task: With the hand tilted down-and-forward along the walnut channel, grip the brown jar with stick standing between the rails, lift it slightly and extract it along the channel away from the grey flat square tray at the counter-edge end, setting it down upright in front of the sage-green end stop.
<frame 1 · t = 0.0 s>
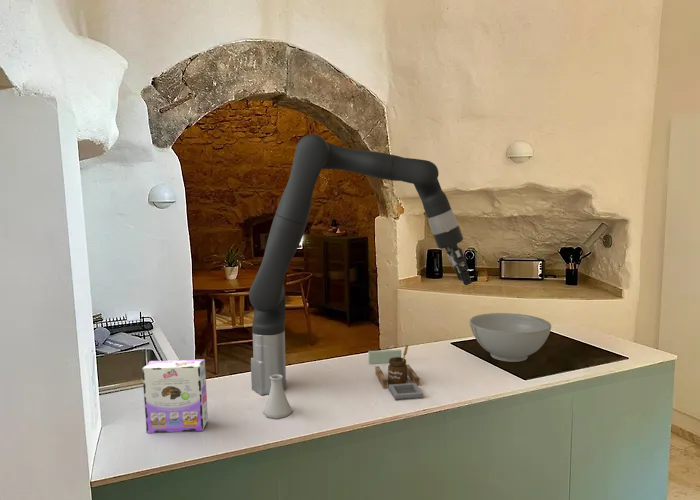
hand: (465, 281, 144), 31 cm above the worktop, tool tilted 20°, fingers open, 8 cm apart
channel: (396, 379, 155), on the worktop
brown jar with stick: (398, 382, 153), on the worktop
decorative bowl: (508, 356, 176), on the worktop
flask: (277, 414, 132), on the worktop
grey flat square tray: (405, 393, 144), on the worktop
end stop: (384, 362, 171), on the worktop
candy box: (178, 428, 125), on the worktop
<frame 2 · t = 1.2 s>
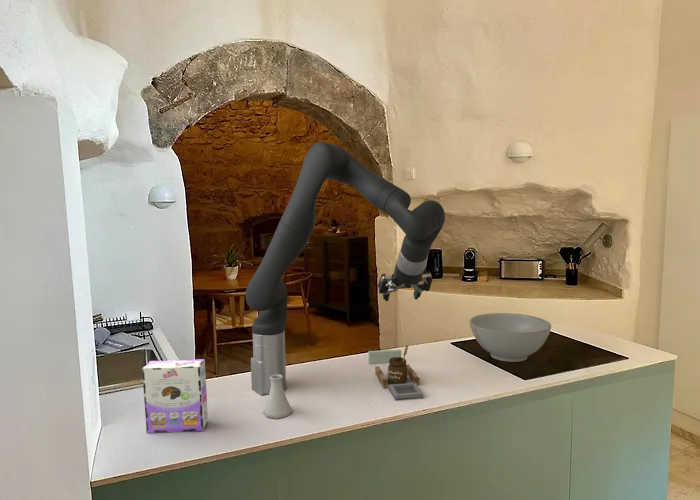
hand: (400, 297, 144), 27 cm above the worktop, tool tilted 45°, fingers open, 8 cm apart
nothing on the worktop moved.
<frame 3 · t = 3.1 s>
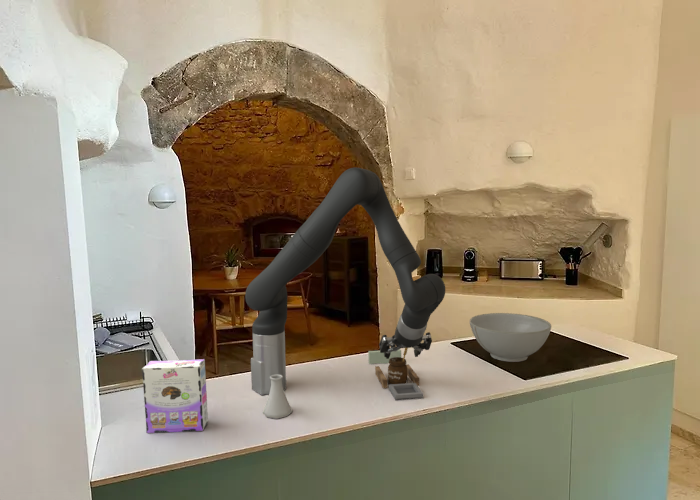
hand: (401, 354, 148), 10 cm above the worktop, tool tilted 45°, fingers open, 8 cm apart
nothing on the worktop moved.
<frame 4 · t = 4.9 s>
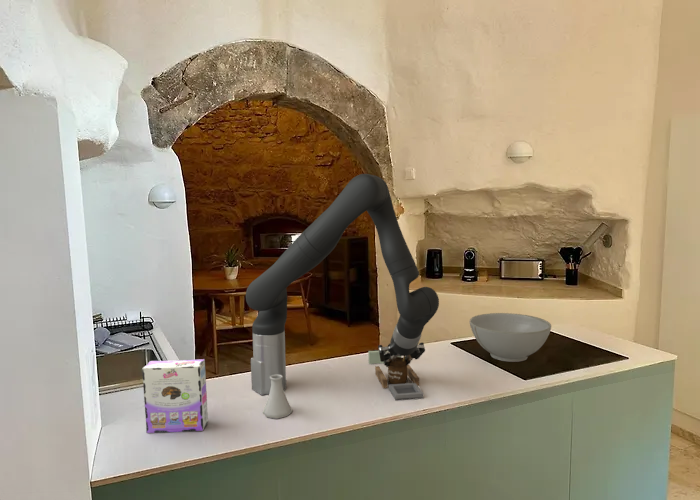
hand: (396, 363, 154), 5 cm above the worktop, tool tilted 45°, fingers closed on brown jar with stick, 5 cm apart
brown jar with stick: (398, 382, 153), on the worktop, touching gripper
everything else where it was.
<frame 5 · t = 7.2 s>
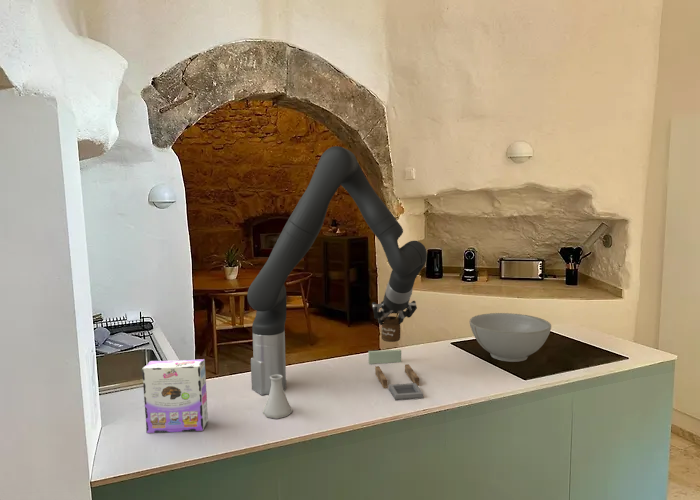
hand: (389, 322, 162), 16 cm above the worktop, tool tilted 45°, fingers closed on brown jar with stick, 5 cm apart
brown jar with stick: (391, 340, 160), point 10 cm above the worktop, touching gripper
everything else where it was.
when the fingers open (6 cm above the worktop, at t = 9.8 s): brown jar with stick drops 1 cm, on the worktop.
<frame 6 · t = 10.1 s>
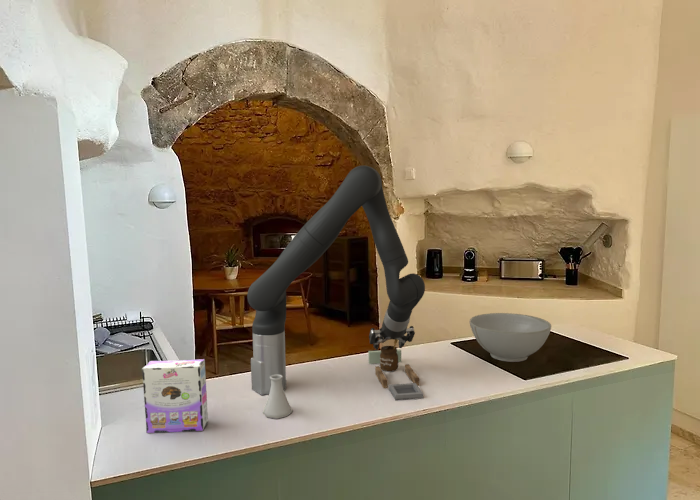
hand: (387, 346, 165), 7 cm above the worktop, tool tilted 45°, fingers open, 7 cm apart
brown jar with stick: (389, 369, 164), on the worktop
everything else where it was.
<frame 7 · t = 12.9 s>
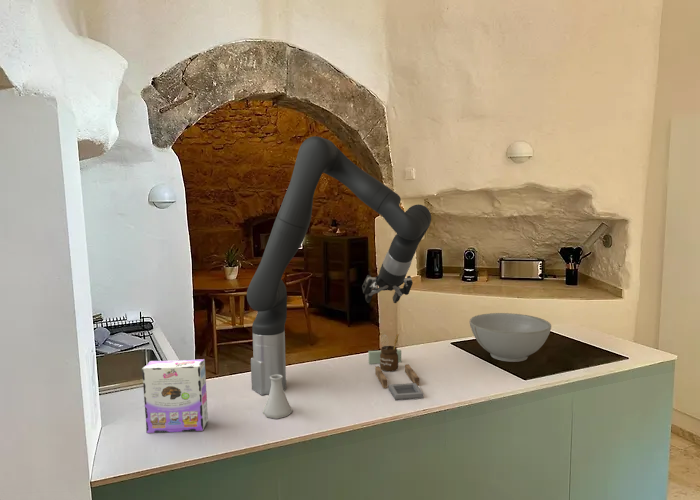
hand: (381, 300, 154), 24 cm above the worktop, tool tilted 40°, fingers open, 8 cm apart
nothing on the worktop moved.
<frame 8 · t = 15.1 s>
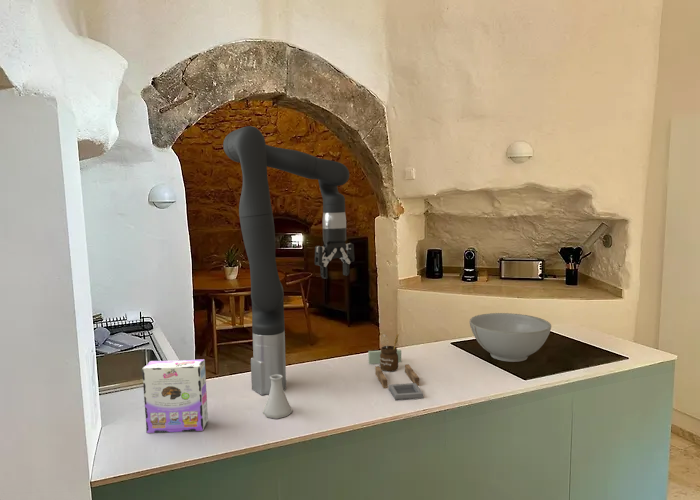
hand: (335, 276, 163), 30 cm above the worktop, tool pointing down, fingers open, 8 cm apart
nothing on the worktop moved.
at the end: brown jar with stick inside the target area (0.7 cm from its centre), on the worktop; brown jar with stick tilted 0°; the gripper is holding nothing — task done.
